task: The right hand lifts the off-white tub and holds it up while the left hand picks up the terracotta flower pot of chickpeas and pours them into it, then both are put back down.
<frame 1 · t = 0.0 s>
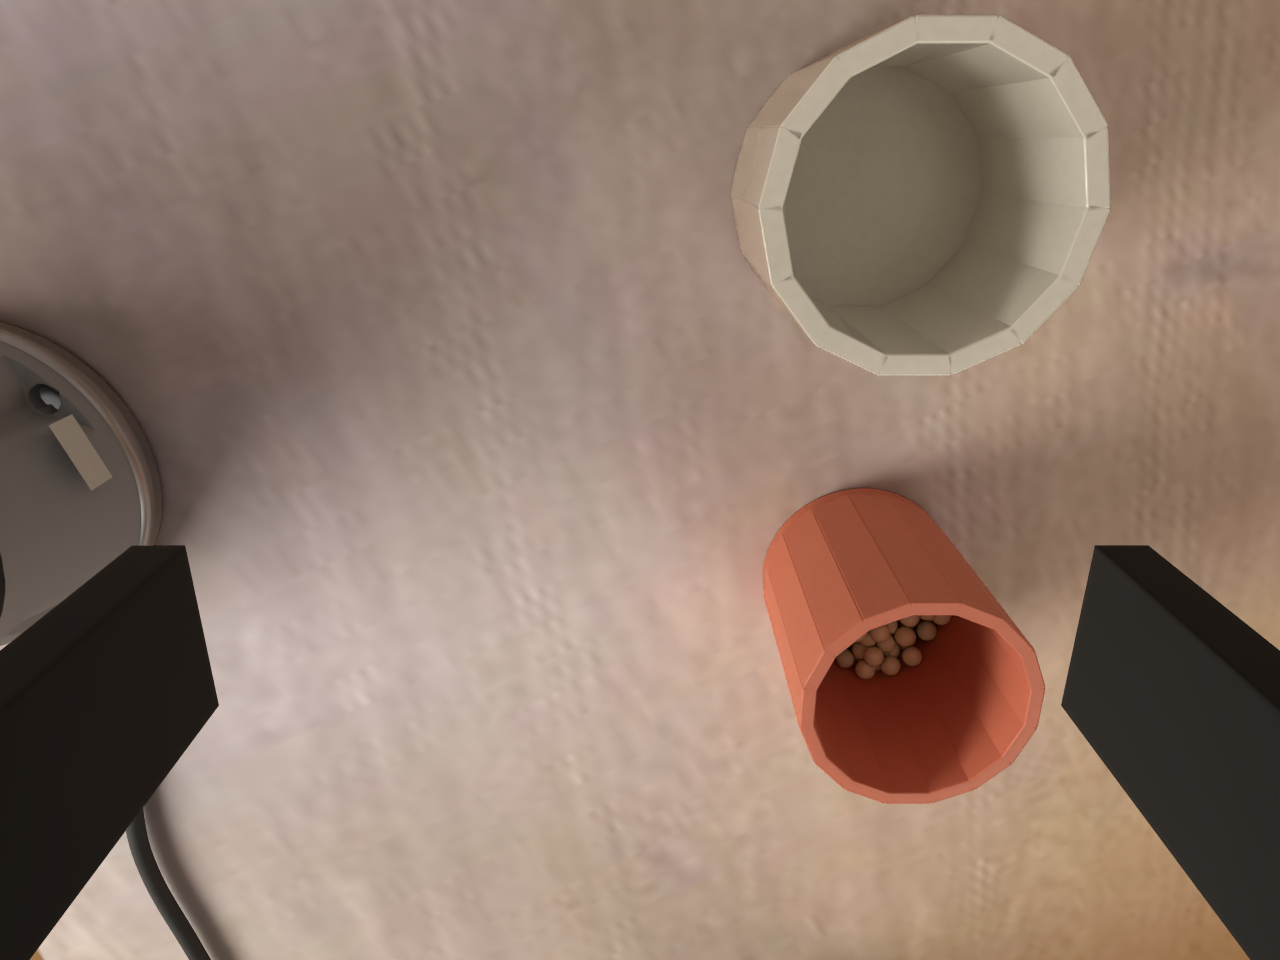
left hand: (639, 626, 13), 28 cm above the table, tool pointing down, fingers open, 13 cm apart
terracotta flower pot: (854, 572, 44), on the table, 156 chickpeas inside
tub: (862, 191, 37), on the table, 0 chickpeas inside
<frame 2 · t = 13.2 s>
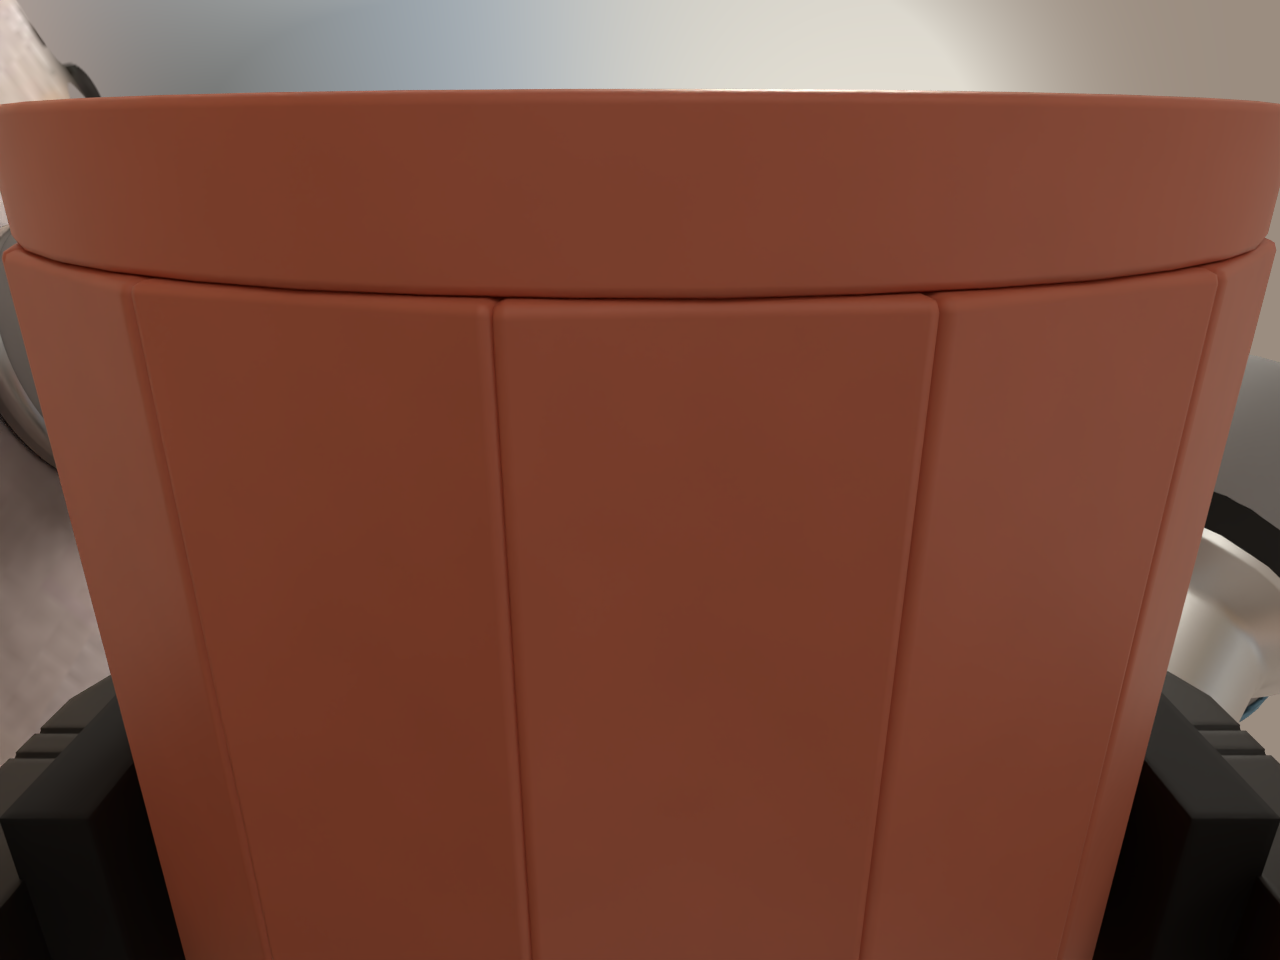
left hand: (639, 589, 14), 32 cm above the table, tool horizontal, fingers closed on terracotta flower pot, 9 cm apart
terracotta flower pot: (639, 117, 7), point 34 cm above the table, tilted 105°, 42 chickpeas inside, touching left hand
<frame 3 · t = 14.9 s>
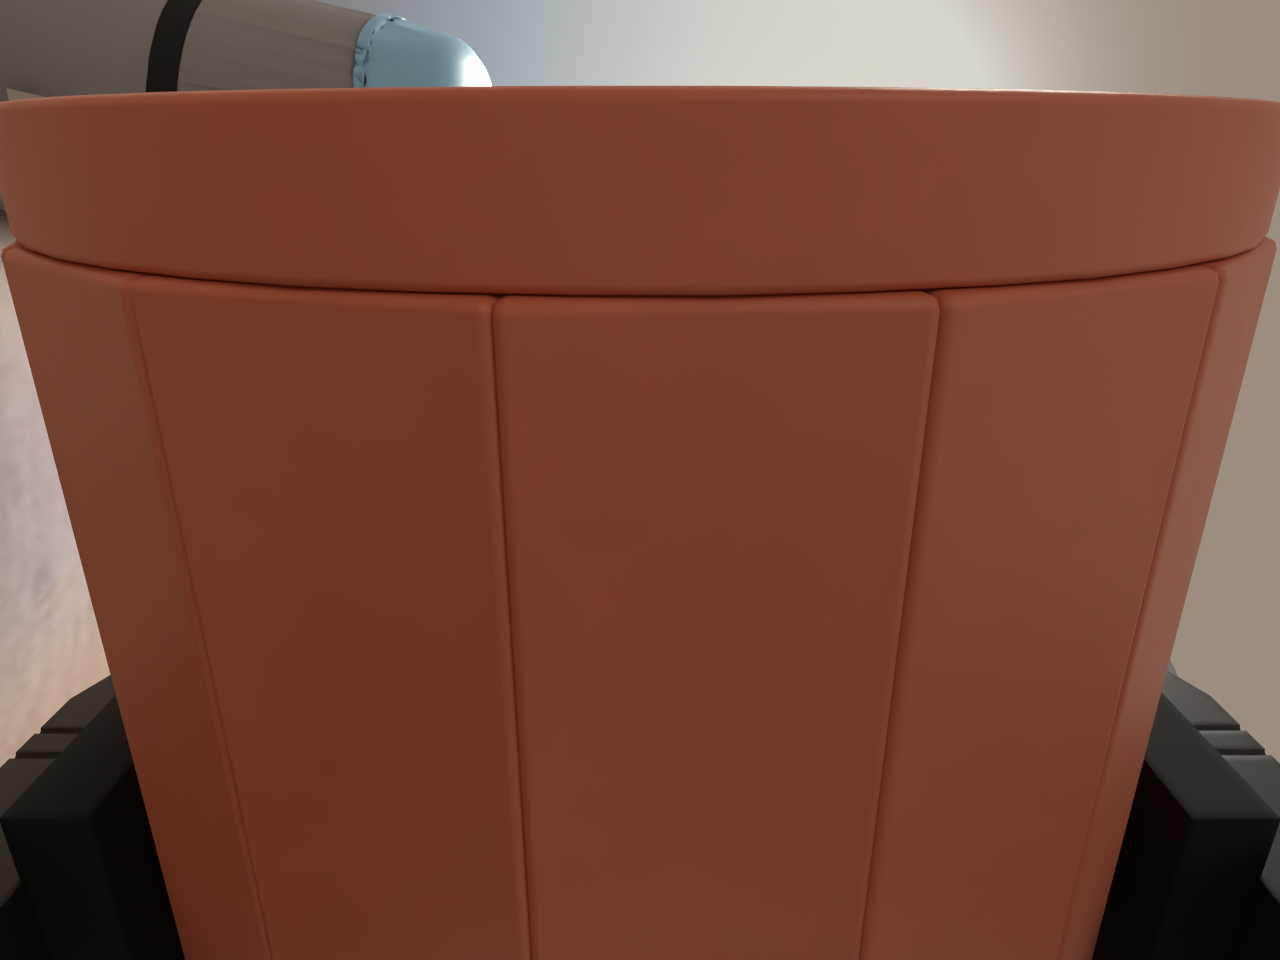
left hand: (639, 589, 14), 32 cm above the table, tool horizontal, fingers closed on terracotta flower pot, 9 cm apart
terracotta flower pot: (639, 116, 7), point 31 cm above the table, tilted 78°, 0 chickpeas inside, touching left hand
when the right hand's fingers open (7 cm above the table, at t = 18.5 s): tub stays where it is, on the table.
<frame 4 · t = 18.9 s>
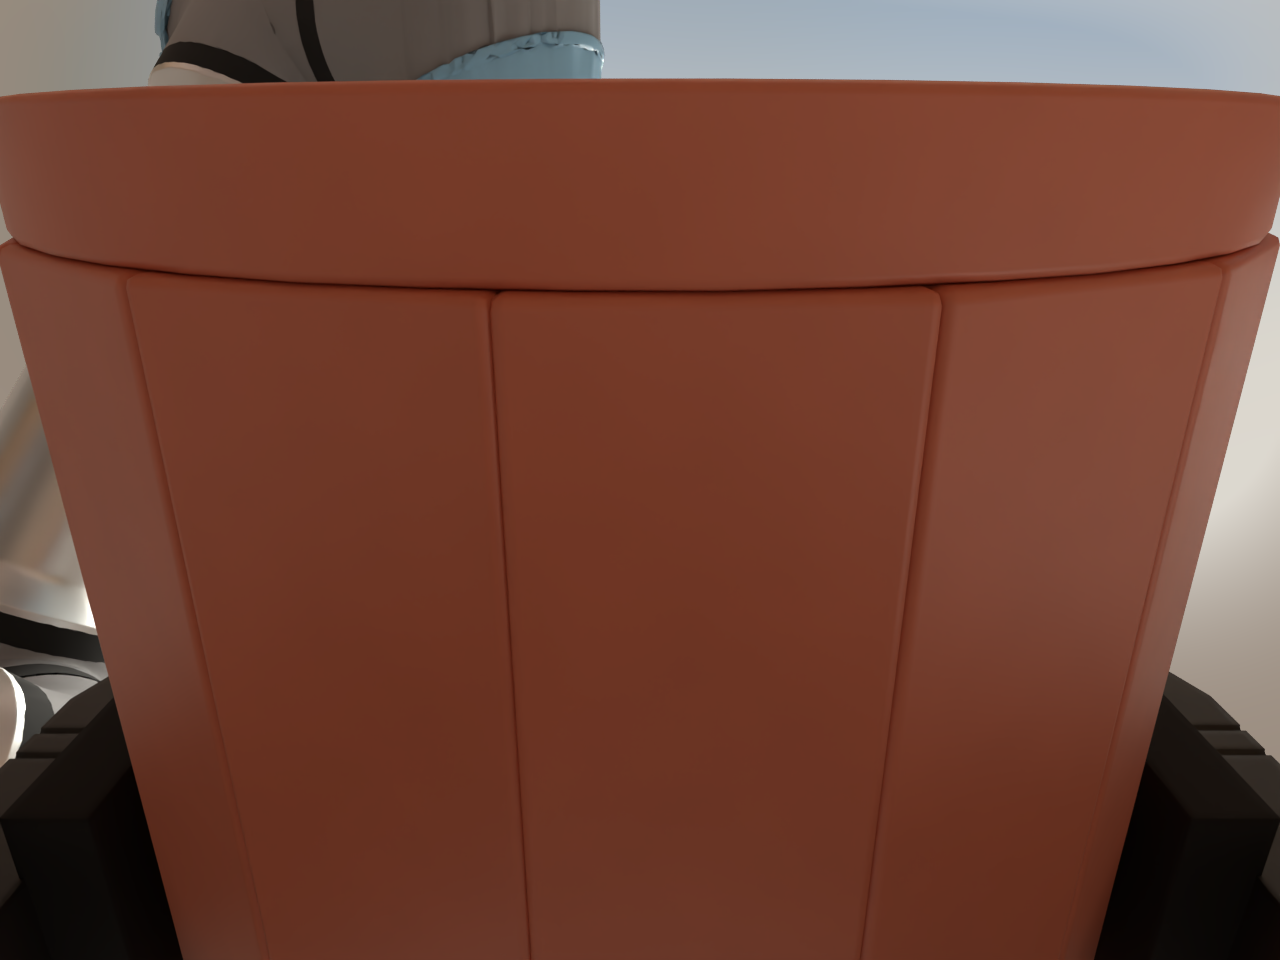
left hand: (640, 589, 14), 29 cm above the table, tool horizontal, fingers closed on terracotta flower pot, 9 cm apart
terracotta flower pot: (639, 113, 7), point 22 cm above the table, 0 chickpeas inside, touching left hand
when the left hand's fingers open (8 cm above the table, at t = 23.0 s): terracotta flower pot stays where it is, on the table.
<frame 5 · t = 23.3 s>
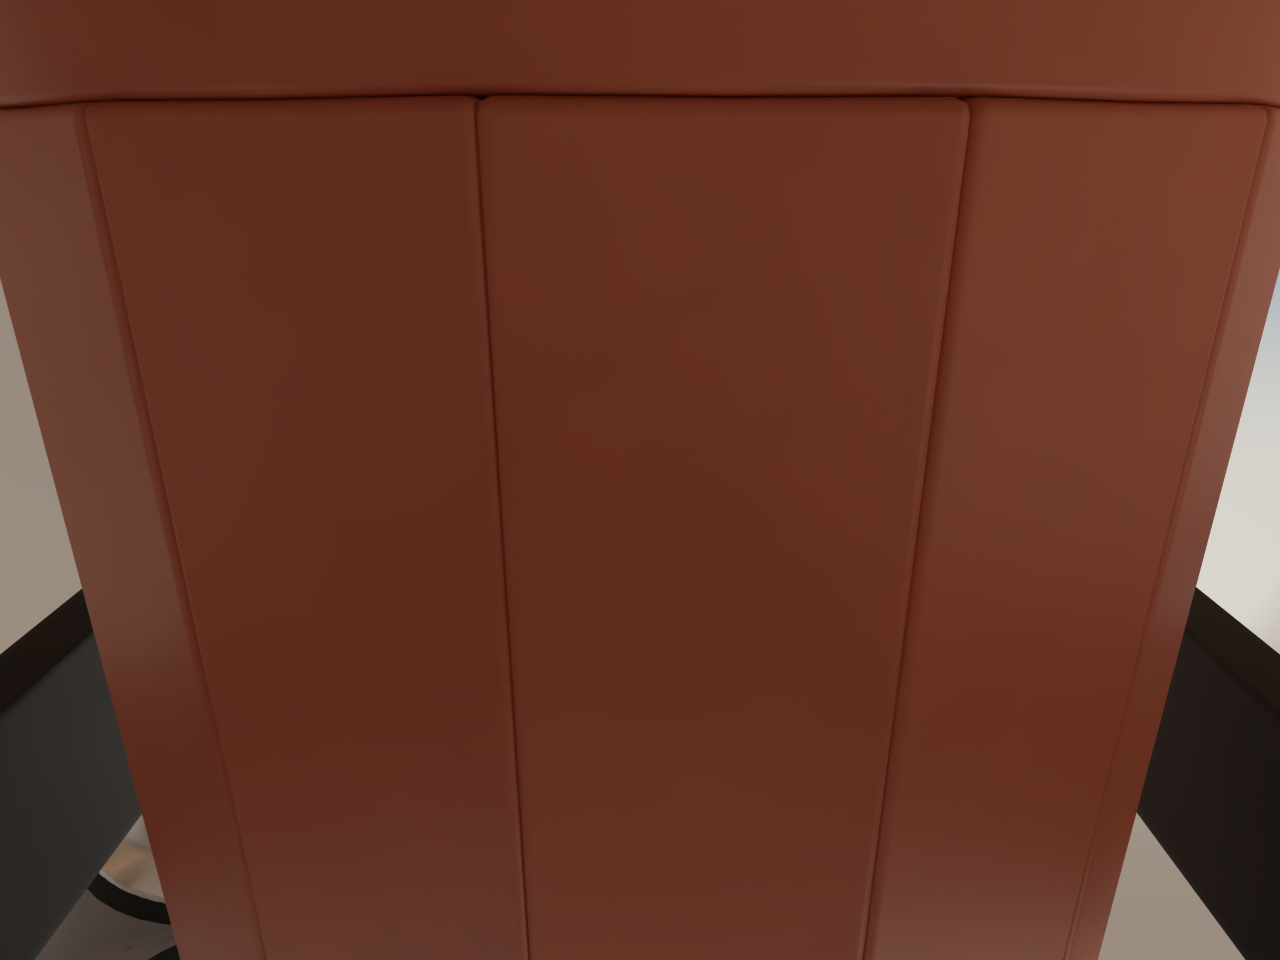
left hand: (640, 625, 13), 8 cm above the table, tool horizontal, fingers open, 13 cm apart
terracotta flower pot: (640, 19, 7), on the table, 0 chickpeas inside
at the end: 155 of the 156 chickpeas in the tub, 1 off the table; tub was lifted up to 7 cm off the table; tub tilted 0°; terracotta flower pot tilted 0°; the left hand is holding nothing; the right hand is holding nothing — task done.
